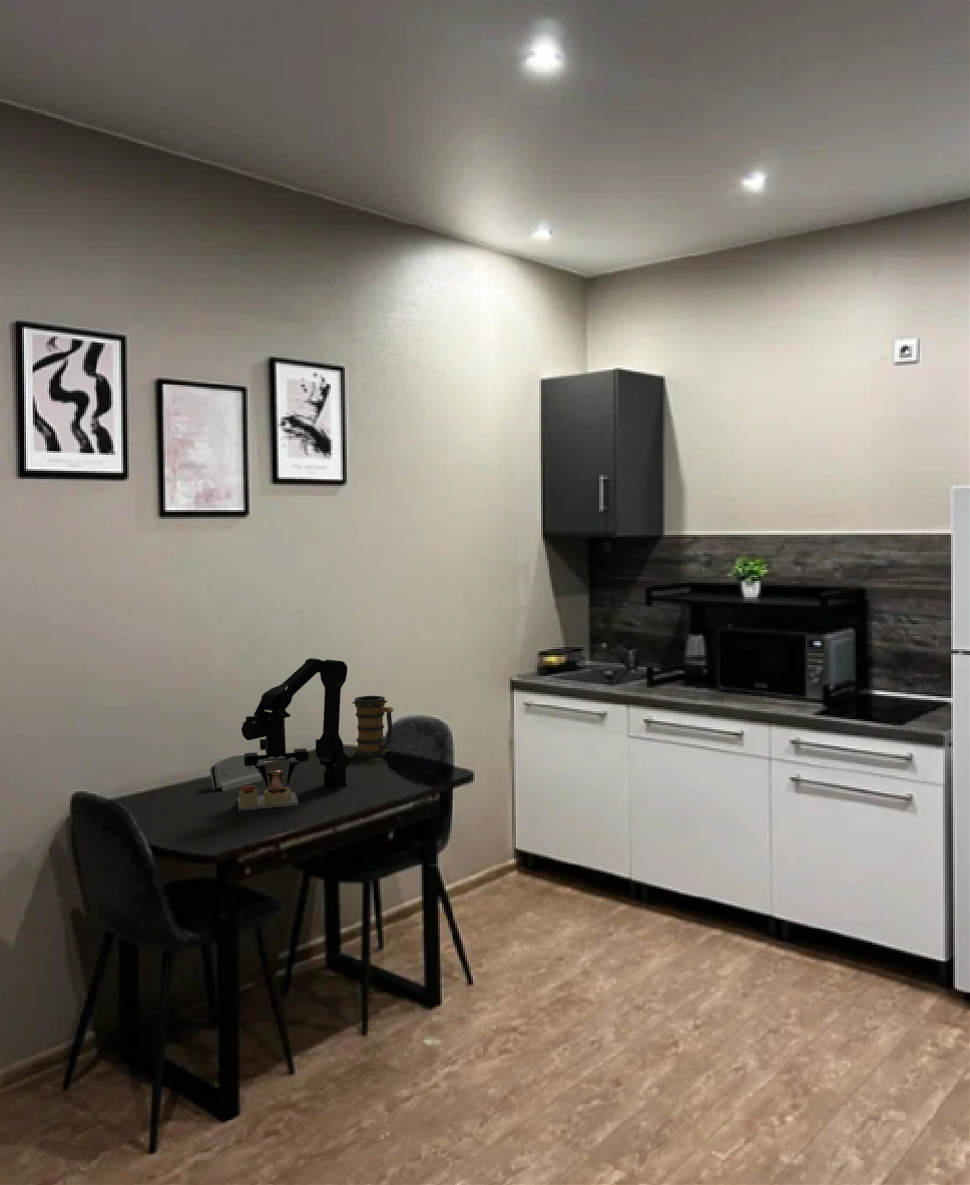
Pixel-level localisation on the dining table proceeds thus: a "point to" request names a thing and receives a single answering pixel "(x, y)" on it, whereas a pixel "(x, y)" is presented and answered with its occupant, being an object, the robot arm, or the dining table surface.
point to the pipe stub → (276, 781)
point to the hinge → (233, 773)
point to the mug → (372, 726)
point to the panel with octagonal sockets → (264, 798)
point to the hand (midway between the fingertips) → (277, 785)
